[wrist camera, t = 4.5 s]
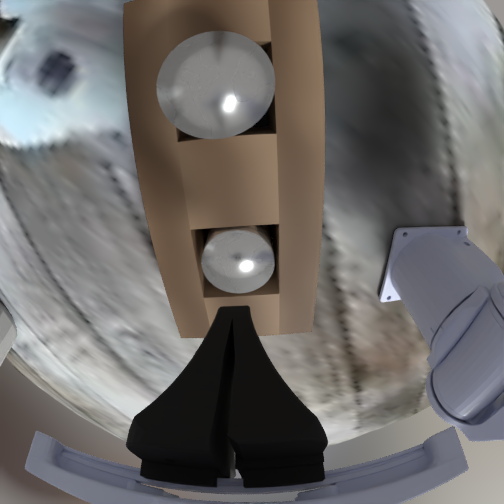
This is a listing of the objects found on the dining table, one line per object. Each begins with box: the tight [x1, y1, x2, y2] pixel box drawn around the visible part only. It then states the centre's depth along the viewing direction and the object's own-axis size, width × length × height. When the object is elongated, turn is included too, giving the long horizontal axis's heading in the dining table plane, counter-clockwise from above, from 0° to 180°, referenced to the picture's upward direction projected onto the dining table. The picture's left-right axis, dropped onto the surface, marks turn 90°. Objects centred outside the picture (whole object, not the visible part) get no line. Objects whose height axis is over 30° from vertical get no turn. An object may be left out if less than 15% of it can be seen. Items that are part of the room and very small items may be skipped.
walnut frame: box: [123, 0, 325, 338], centre depth 16 cm, size 10×23×5 cm, turn 3°
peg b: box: [201, 225, 275, 293], centre depth 18 cm, size 4×4×5 cm
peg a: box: [157, 31, 275, 139], centre depth 10 cm, size 4×4×5 cm
